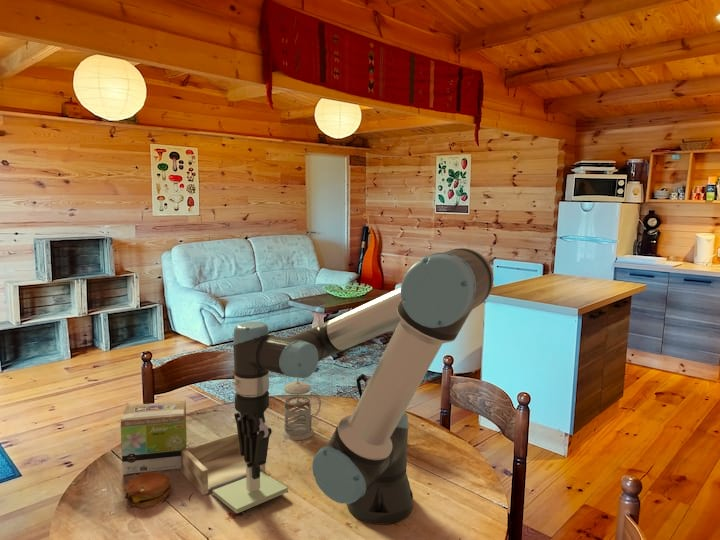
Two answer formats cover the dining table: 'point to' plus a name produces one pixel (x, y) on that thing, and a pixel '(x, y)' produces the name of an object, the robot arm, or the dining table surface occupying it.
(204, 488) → the crate
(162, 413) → the tea box
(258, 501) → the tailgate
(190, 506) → the dining table surface
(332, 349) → the robot arm
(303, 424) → the french press
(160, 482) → the burger
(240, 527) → the dining table surface
